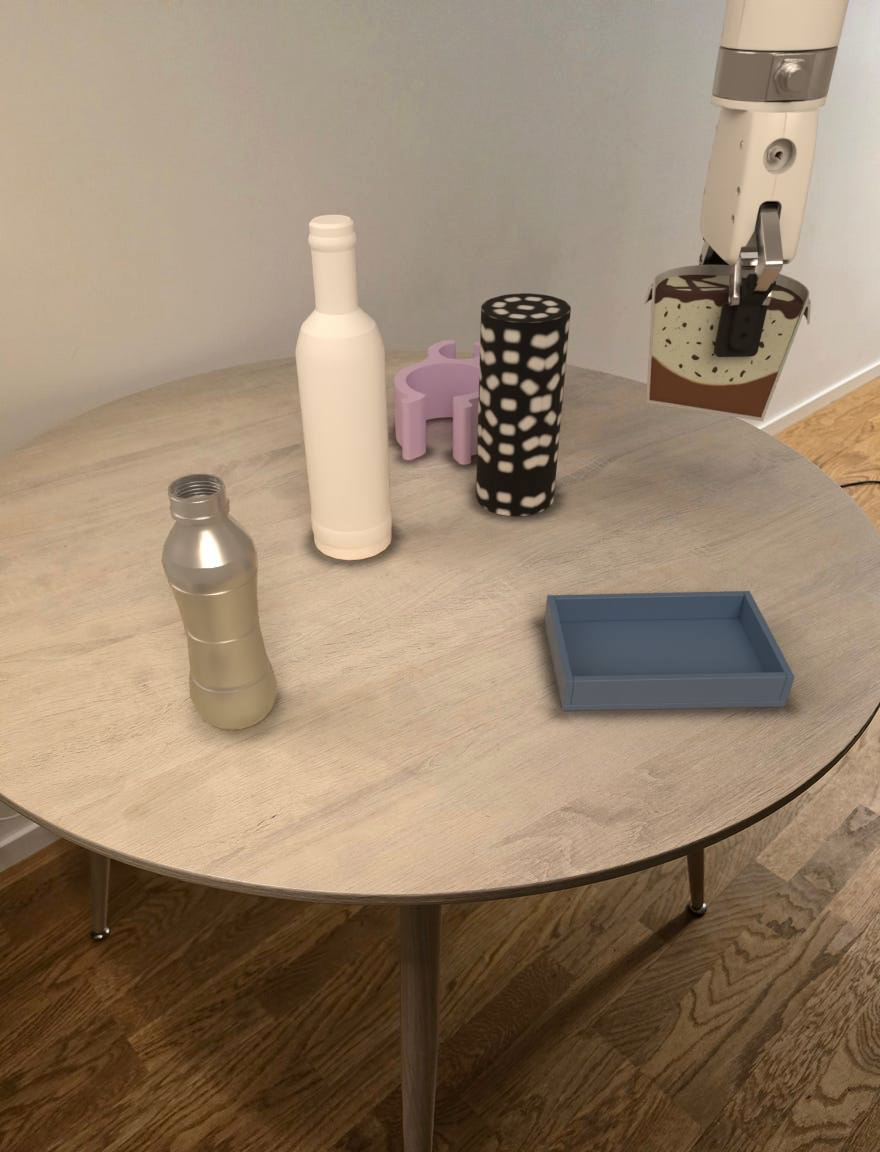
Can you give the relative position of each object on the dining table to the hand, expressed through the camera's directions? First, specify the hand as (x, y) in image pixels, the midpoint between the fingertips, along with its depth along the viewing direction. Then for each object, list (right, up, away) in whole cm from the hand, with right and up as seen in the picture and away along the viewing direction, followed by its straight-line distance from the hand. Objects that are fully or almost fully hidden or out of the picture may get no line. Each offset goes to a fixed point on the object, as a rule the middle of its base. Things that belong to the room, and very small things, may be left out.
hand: (721, 335), depth 72 cm
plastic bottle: (-39, -30, -1) cm, 49 cm away
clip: (-20, +2, +38) cm, 43 cm away
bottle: (-31, -15, +18) cm, 38 cm away
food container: (0, -4, +4) cm, 6 cm away
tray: (-5, -26, +2) cm, 27 cm away
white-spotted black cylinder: (-14, -9, +24) cm, 29 cm away
